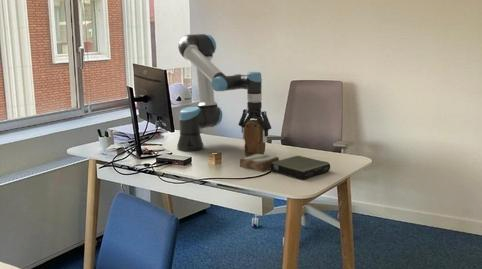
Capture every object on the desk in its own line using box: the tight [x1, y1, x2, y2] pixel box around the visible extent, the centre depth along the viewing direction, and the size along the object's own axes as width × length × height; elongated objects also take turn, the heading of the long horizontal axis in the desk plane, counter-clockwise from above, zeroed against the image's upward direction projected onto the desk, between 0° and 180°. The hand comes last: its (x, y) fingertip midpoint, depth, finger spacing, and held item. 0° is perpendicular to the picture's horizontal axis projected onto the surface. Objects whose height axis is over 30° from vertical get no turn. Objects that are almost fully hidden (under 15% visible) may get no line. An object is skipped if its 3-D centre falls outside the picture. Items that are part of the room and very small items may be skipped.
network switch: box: [270, 155, 331, 181], centre depth 258 cm, size 23×23×5 cm
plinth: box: [239, 154, 279, 172], centre depth 268 cm, size 14×14×4 cm
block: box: [244, 119, 266, 157], centre depth 285 cm, size 11×8×20 cm
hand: (254, 140), depth 285 cm, fingers open, 13 cm apart
